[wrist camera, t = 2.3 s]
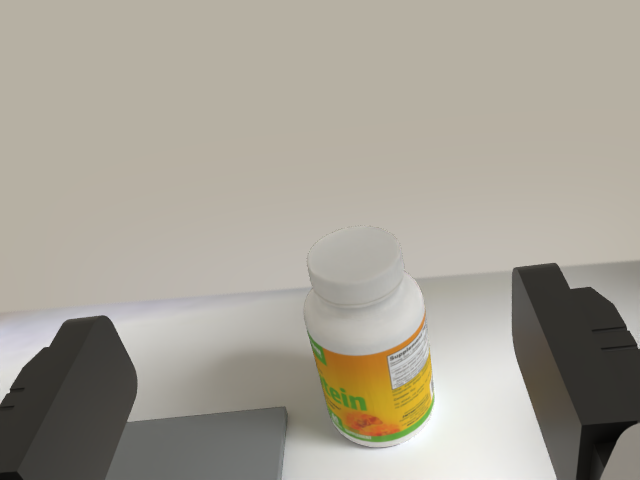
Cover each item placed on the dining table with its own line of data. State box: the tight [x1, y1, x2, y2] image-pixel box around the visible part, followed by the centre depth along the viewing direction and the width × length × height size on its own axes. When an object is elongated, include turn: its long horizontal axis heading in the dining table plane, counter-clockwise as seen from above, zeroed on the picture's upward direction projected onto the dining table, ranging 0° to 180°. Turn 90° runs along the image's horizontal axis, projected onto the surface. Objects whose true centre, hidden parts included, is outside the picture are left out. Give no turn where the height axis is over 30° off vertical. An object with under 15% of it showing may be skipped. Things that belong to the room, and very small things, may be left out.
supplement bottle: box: [304, 226, 434, 447], centre depth 27 cm, size 5×5×10 cm
